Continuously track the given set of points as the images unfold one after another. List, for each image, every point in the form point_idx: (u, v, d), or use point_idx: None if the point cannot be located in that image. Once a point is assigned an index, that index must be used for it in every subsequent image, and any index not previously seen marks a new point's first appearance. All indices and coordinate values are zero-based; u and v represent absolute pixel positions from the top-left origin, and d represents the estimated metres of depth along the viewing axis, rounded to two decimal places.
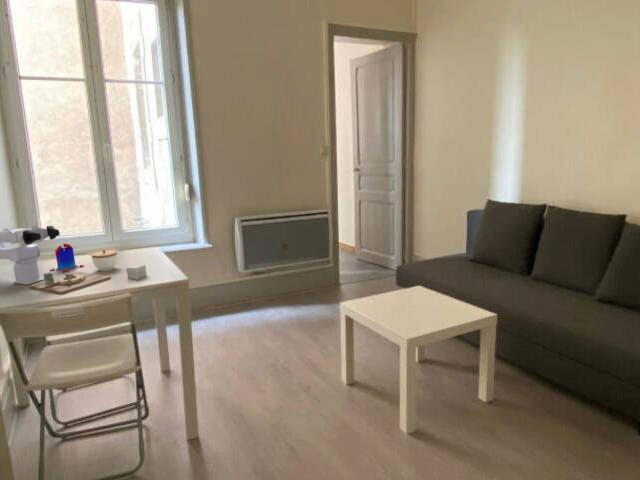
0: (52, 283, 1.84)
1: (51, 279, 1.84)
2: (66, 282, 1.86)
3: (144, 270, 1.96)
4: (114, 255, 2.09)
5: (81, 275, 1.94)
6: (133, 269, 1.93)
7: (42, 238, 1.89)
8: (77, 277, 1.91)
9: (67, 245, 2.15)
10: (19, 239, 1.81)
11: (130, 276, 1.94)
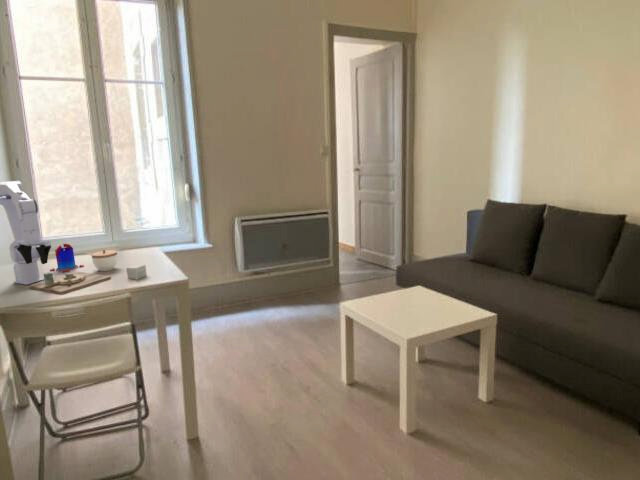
0: (52, 283, 1.84)
1: (51, 279, 1.84)
2: (66, 282, 1.86)
3: (144, 270, 1.96)
4: (114, 255, 2.09)
5: (81, 275, 1.94)
6: (133, 269, 1.93)
7: None
8: (77, 277, 1.91)
9: (67, 245, 2.15)
10: None
11: (130, 276, 1.94)
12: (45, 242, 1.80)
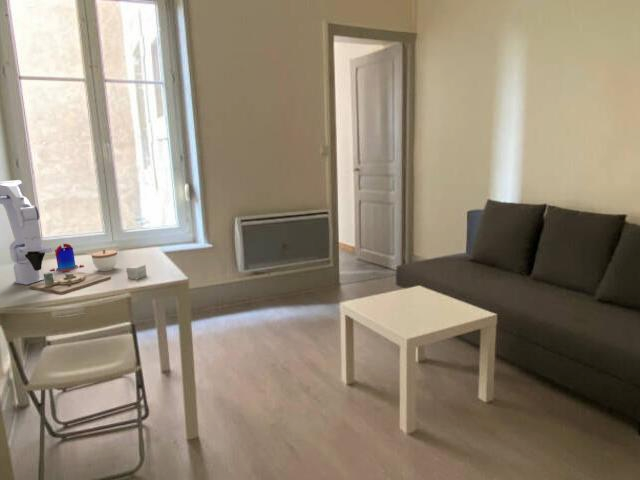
0: (52, 283, 1.84)
1: (51, 279, 1.84)
2: (66, 282, 1.86)
3: (144, 270, 1.96)
4: (114, 255, 2.09)
5: (81, 275, 1.94)
6: (133, 269, 1.93)
7: None
8: (77, 277, 1.91)
9: (67, 245, 2.15)
10: None
11: (130, 276, 1.94)
12: (46, 249, 1.80)
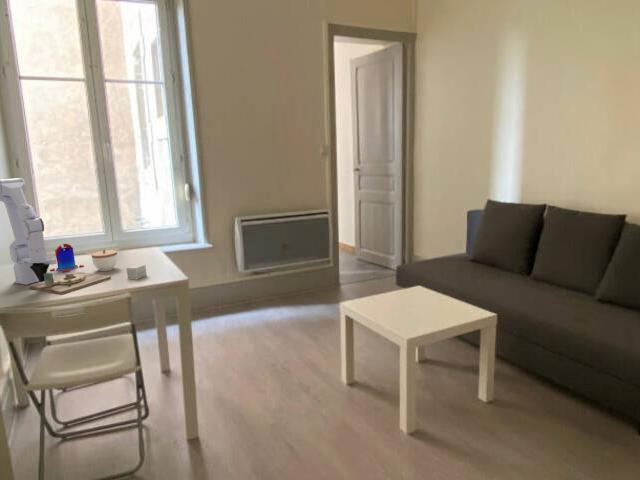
0: (52, 283, 1.84)
1: (51, 279, 1.84)
2: (66, 282, 1.86)
3: (144, 270, 1.96)
4: (114, 255, 2.09)
5: (81, 275, 1.94)
6: (133, 269, 1.93)
7: None
8: (77, 277, 1.91)
9: (67, 245, 2.15)
10: None
11: (130, 276, 1.94)
12: (51, 261, 1.81)
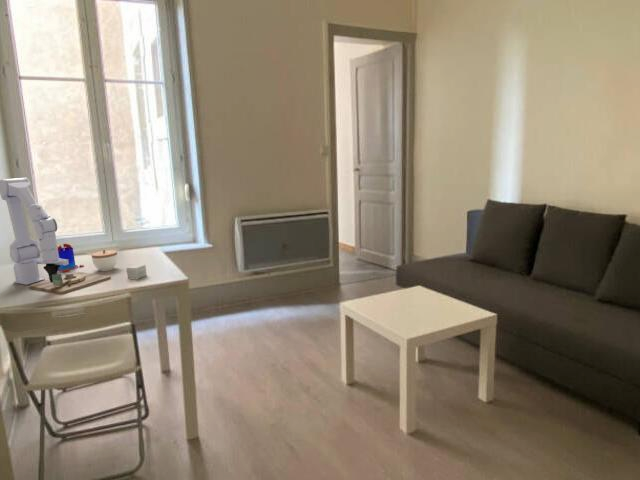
0: (62, 283, 1.84)
1: (61, 279, 1.83)
2: (75, 280, 1.87)
3: (144, 270, 1.96)
4: (114, 255, 2.09)
5: (77, 274, 1.95)
6: (133, 269, 1.93)
7: None
8: (78, 276, 1.93)
9: (67, 245, 2.15)
10: None
11: (130, 276, 1.94)
12: (63, 261, 1.79)
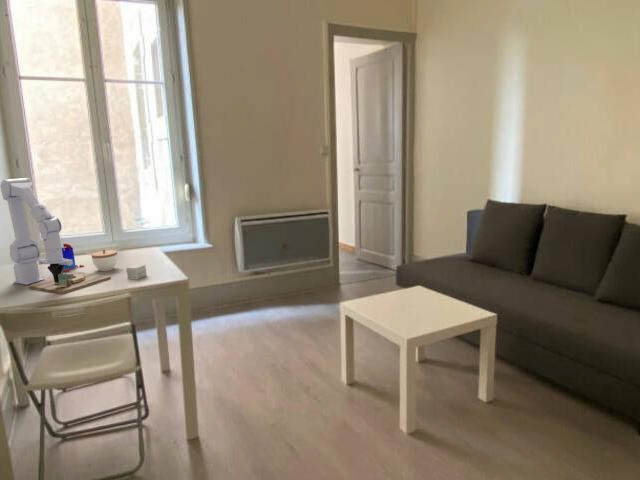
0: (67, 283, 1.84)
1: (66, 279, 1.84)
2: (79, 280, 1.89)
3: (144, 270, 1.96)
4: (114, 255, 2.09)
5: (75, 274, 1.95)
6: (133, 269, 1.93)
7: None
8: (77, 276, 1.93)
9: (67, 245, 2.15)
10: None
11: (130, 276, 1.94)
12: (68, 261, 1.79)
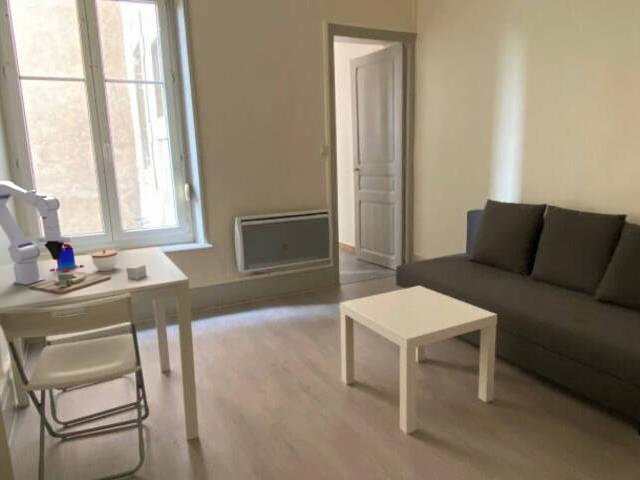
0: (67, 283, 1.84)
1: (66, 279, 1.84)
2: (79, 280, 1.89)
3: (144, 270, 1.96)
4: (114, 255, 2.09)
5: (75, 274, 1.95)
6: (133, 269, 1.93)
7: None
8: (77, 276, 1.93)
9: (67, 245, 2.15)
10: None
11: (130, 276, 1.94)
12: (65, 239, 1.86)
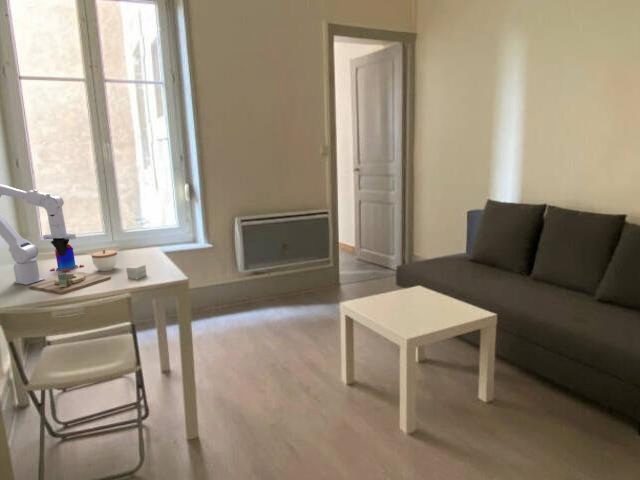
0: (67, 283, 1.84)
1: (66, 279, 1.84)
2: (79, 280, 1.89)
3: (144, 270, 1.96)
4: (114, 255, 2.09)
5: (75, 274, 1.95)
6: (133, 269, 1.93)
7: None
8: (77, 276, 1.93)
9: (67, 245, 2.15)
10: None
11: (130, 276, 1.94)
12: (71, 235, 1.91)
